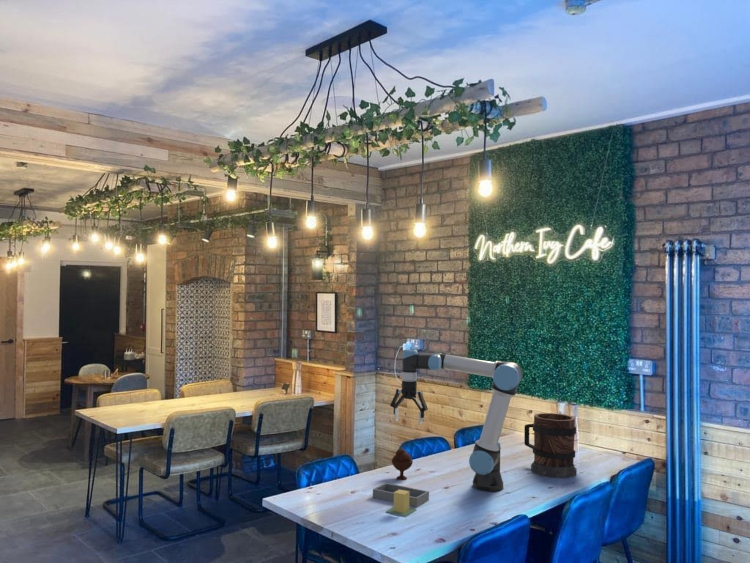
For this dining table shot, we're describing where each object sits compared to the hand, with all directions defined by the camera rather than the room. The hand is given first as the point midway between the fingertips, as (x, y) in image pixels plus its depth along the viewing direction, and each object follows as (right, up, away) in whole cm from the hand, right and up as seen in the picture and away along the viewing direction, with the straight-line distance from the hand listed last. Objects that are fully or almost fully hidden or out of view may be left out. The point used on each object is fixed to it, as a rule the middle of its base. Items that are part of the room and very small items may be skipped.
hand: (408, 422), depth 310 cm
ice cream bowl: (-3, -31, +9) cm, 32 cm away
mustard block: (-5, -29, -41) cm, 51 cm away
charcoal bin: (-5, -30, -25) cm, 39 cm away
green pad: (-5, -30, -41) cm, 51 cm away
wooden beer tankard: (+79, -34, +30) cm, 91 cm away
